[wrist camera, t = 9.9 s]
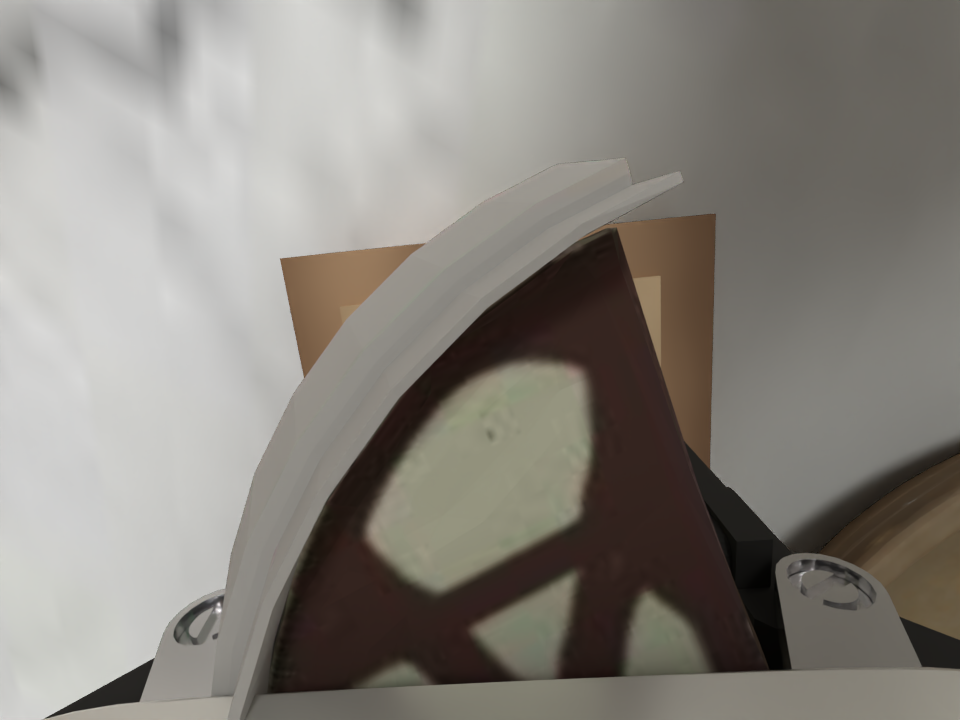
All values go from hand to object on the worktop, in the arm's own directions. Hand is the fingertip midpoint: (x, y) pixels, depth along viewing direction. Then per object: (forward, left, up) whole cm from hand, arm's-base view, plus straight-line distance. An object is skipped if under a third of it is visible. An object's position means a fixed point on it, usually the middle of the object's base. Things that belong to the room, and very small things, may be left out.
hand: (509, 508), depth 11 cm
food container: (+2, 0, -3) cm, 4 cm away
